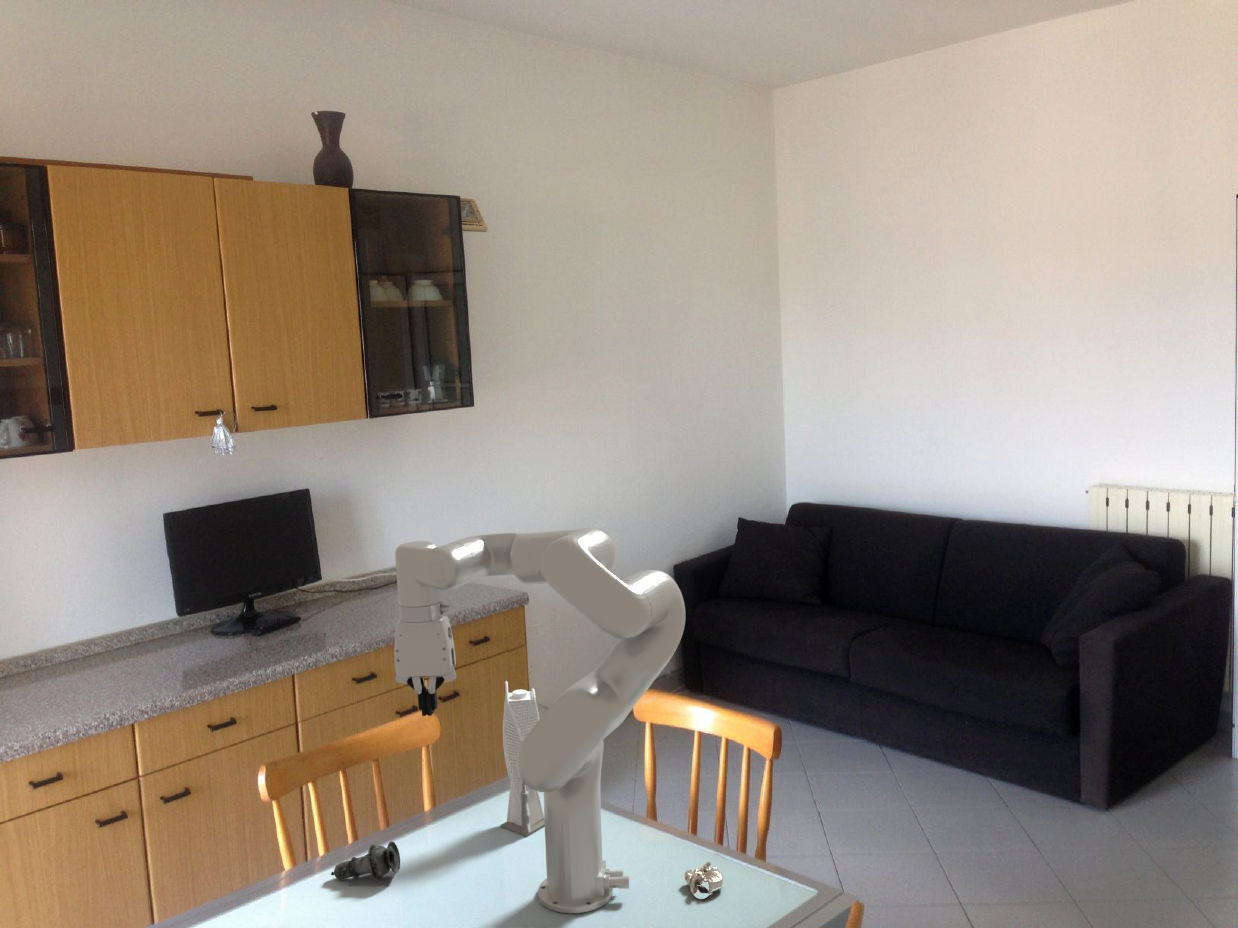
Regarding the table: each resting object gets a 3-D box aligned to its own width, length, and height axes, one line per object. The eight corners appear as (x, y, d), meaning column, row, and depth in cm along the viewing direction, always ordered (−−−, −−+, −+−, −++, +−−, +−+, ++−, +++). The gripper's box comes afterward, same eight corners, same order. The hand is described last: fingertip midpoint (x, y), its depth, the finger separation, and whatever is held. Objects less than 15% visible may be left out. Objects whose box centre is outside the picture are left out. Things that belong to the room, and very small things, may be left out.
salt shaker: (396, 881, 179) (331, 898, 180) (403, 860, 185) (341, 877, 186) (384, 852, 178) (319, 870, 179) (392, 832, 184) (329, 849, 185)
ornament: (693, 874, 181) (693, 854, 181) (730, 882, 178) (730, 861, 178) (675, 896, 174) (675, 875, 174) (713, 905, 171) (713, 884, 170)
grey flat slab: (396, 871, 185) (396, 869, 184) (388, 886, 180) (388, 884, 180) (358, 871, 185) (358, 869, 185) (348, 885, 180) (348, 884, 180)
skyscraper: (494, 825, 201) (488, 686, 198) (522, 809, 208) (517, 674, 204) (526, 836, 196) (520, 694, 193) (554, 820, 202) (549, 682, 199)
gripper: (467, 605, 184) (474, 704, 186) (385, 608, 185) (393, 707, 187) (458, 616, 177) (465, 719, 179) (373, 619, 178) (381, 722, 180)
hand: (428, 713), depth 183 cm, fingers closed
